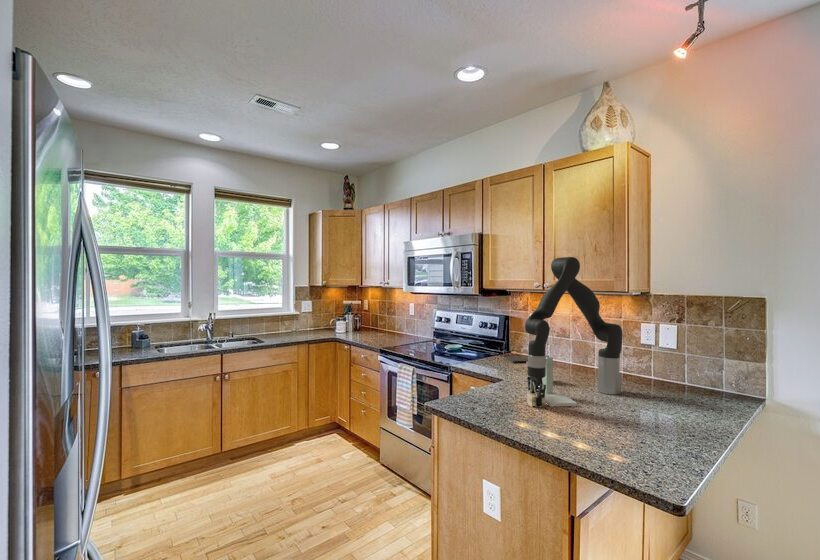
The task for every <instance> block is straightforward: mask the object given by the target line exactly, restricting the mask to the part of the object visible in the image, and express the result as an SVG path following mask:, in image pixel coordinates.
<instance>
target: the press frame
mask: <svg viewBox="0 0 820 560" xmlns="http://www.w3.org/2000/svg"><path fill="white" fill-rule="evenodd" d="M547 356H548V357H550V355H547ZM542 382H543V385H546V390H545V403H547V404H548V405H549V406H572V407H578V403H577V402H576V401H575V400H573V399H572V398H570V397H569V396H567V395H566V394H563V393H557V394H556V393H555V392H554V390H553V389H554V388H553V387H554V357H550V358H547V361H546V376H545V377H543V378H542ZM542 394H543V393H542ZM547 404H546V405H547ZM548 405H547V406H548ZM549 406H548V407H549Z"/></svg>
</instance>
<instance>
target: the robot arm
mask: <svg viewBox="0 0 820 560" xmlns="http://www.w3.org/2000/svg"><path fill="white" fill-rule="evenodd" d="M550 265H551V266H550V268H551V269H550V270H551V272H552V274H553V276H554V277H555V278H556V279H557V281H556V282H555V283H554V284H553V285H552V286H551V287H550V288H549V289H548V290H547V291H546V292H545V293H544V294H543V296H542V297H541V299H540V301H539V304H538V306H537V307H536V308H535V310H533V312H532V313H531V314H530V316H529V317H528V318H527V319H526V321H525V323H524V330H525V332H526V333H527V334H529V335H532V336H535V339H533V340H530V341H529V342H528V345H527V346H528V349H527V351H528V353H527V358H528V361H527V370H526V371H527V388H528V391H529V393H536V406H537V407H536V408H541V407H540V406H542V398H544V397H545V390H546V385H543V382H542V378H543V377H545V376H546V358H545V356H546V345H547V342H548V338H549V335H550V332H551V331H550V330H551V329H550V324H549V323H548V321H546V320H545V319H550V318H551V317H552V316H553V315H554V313H555V311H556V309H557V306H558V304H559V303H560V300H561V299H562V297H563V296H564V294H565V292H567V293H568V295H570V297H571V298H572V300H573V302H574V303H575V304H576V306H577V308H578V309H579V311H580V312H581V313H582V315H583V316H584V318H585V319H586V322H588V324H589V326H590V328H591V330H592V332H593V334H594V336H595V337H596V339H597V340H599V341H601V342H606V347H605V348H600V349H598V355H597V356H598V357H597V358H598V360H597V361H598V363H597V364H598V365H597V369H598V371H597V391H598V392H600V393H601V394H605V395H618V394H622V373H621V372H620V369H621V367H620V366H621V365H620V363H621V362H620V361H621V352H622V349H623V338H624V337H623V334H624V333H623V328H622V326H620V325H619V324H616V323H611V322H606V321H605V320H603V318H602V317H601V315H600V307H601V305H600V301H599V299H598V297H597V296H596V294H595V293H594V292H593V290H592V289H591V288H590V287H588V286H587V285H585V284H584V283H582V282H581V281H579V280H578V279H577V276H578V274H579V272H580V271H581V269H580V268H581V262H580V261H579V259H578V258H576V257H574V256H566V257H565V256H564V257H556V258H554V259H553V260H552V261H551V263H550ZM542 393H543V394H542Z"/></svg>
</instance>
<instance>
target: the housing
mask: <svg viewBox="0 0 820 560" xmlns="http://www.w3.org/2000/svg"><path fill="white" fill-rule="evenodd" d="M526 395H527V396H526V403H528V404H529V405H528V404H527V405H528V406H530V405H531V406H536V393H530V392H529V393H528V392H527V393H526ZM531 406H530V407H531ZM542 406H545V407H546V404H545V397H544V398H542Z"/></svg>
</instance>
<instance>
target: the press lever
mask: <svg viewBox="0 0 820 560" xmlns="http://www.w3.org/2000/svg"><path fill="white" fill-rule="evenodd" d="M548 356H549V355H545V358H546V361H547V358H551V357H550V356H549V357H548ZM505 359H506V360H507V362H508V361H509V362H510V363H512V364H514V365H515V364H516V365H517V364H519V365H520V364H521V365H522V364H527V362H528V357H521V356H519V355H506V356H505Z"/></svg>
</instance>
